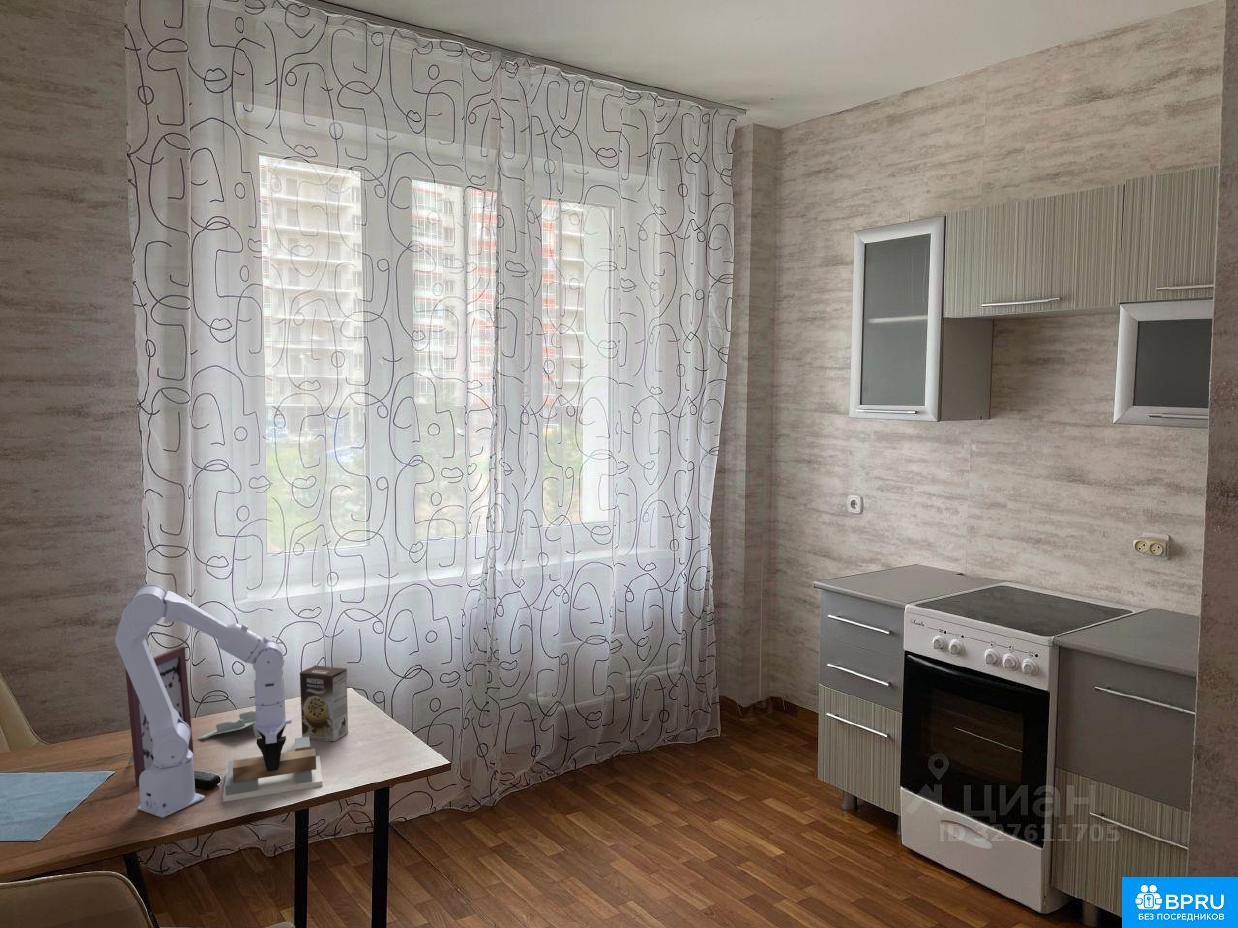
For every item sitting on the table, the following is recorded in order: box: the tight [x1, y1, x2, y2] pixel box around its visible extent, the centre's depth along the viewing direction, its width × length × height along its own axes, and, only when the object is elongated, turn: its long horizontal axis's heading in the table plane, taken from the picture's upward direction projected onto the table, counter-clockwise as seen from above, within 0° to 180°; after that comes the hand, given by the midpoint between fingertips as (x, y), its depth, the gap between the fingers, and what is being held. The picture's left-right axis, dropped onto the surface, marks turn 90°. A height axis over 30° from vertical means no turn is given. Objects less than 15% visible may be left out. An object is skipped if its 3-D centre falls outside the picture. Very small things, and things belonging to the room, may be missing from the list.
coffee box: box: [299, 665, 349, 742], centre depth 210 cm, size 9×6×16 cm
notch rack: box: [222, 736, 323, 803], centre depth 187 cm, size 19×14×6 cm
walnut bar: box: [233, 748, 317, 782], centre depth 184 cm, size 16×4×3 cm, turn 111°
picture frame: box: [125, 646, 195, 786], centre depth 193 cm, size 17×10×25 cm, turn 168°
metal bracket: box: [197, 710, 261, 741], centre depth 214 cm, size 14×6×15 cm
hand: (272, 764), depth 183 cm, fingers open, 6 cm apart
